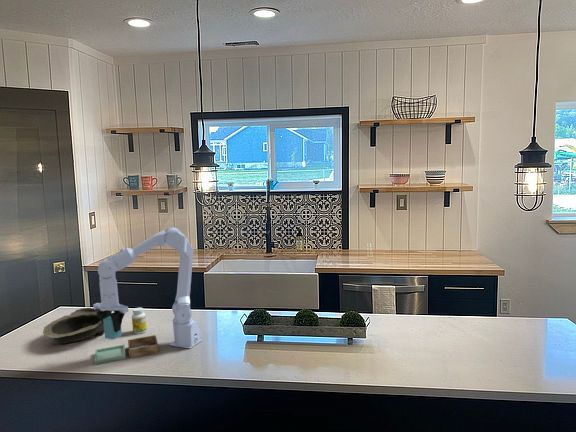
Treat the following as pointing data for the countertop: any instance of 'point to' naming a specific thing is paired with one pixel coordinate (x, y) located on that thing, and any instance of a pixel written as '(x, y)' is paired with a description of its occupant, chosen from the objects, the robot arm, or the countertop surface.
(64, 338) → the stone bowl
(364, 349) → the countertop surface
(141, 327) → the supplement bottle
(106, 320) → the block
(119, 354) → the tray
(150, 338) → the sleeve
